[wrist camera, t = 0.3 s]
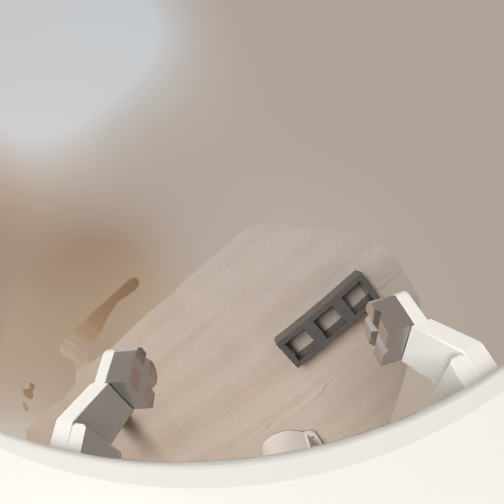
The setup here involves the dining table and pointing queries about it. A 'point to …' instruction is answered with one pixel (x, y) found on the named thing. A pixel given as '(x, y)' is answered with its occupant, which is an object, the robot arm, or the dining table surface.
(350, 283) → the rail
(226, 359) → the dining table surface
